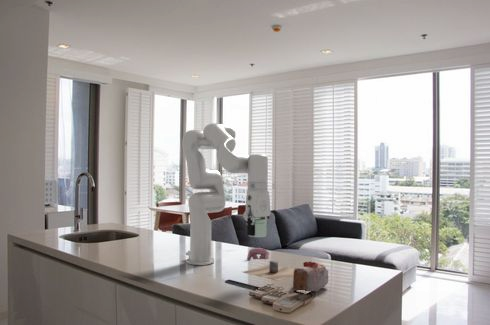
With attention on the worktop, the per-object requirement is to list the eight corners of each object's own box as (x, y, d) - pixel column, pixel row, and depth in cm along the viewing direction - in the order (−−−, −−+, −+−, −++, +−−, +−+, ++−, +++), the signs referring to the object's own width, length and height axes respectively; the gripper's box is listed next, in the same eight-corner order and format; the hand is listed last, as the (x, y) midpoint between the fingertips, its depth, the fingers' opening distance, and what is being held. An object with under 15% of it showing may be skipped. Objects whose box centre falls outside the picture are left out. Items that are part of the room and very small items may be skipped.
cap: (259, 237, 145) (259, 220, 145) (244, 235, 149) (245, 219, 149) (269, 235, 150) (269, 219, 150) (255, 233, 154) (256, 217, 154)
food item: (310, 283, 147) (310, 256, 147) (330, 287, 142) (330, 260, 142) (290, 291, 136) (290, 263, 137) (310, 296, 131) (310, 266, 132)
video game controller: (268, 264, 182) (270, 249, 186) (267, 262, 179) (268, 246, 182) (248, 263, 185) (250, 248, 188) (246, 260, 181) (247, 245, 184)
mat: (225, 282, 146) (225, 280, 146) (242, 277, 154) (242, 275, 154) (254, 290, 137) (254, 288, 137) (271, 284, 144) (271, 282, 144)
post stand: (241, 275, 156) (241, 261, 156) (269, 267, 170) (269, 254, 170) (278, 284, 144) (278, 269, 144) (305, 275, 158) (305, 261, 158)
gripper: (251, 187, 141) (250, 238, 140) (278, 186, 154) (278, 232, 154) (235, 187, 145) (234, 235, 145) (263, 186, 159) (263, 230, 158)
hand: (257, 233), depth 149 cm, fingers closed on cap, 6 cm apart
